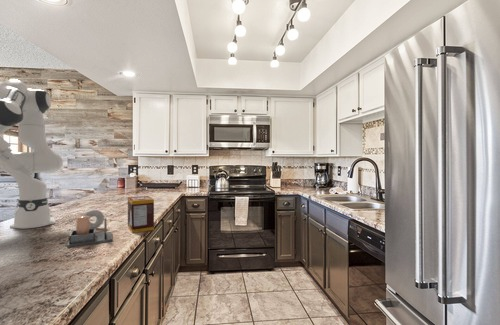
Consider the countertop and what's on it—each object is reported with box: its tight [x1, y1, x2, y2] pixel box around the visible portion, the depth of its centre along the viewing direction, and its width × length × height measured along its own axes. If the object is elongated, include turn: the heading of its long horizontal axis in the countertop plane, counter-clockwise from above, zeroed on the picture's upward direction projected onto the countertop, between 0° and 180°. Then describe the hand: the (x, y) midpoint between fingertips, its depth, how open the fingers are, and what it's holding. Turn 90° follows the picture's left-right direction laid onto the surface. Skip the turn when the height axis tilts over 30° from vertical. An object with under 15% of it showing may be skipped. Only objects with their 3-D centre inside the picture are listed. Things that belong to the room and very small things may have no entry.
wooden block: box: [75, 215, 90, 235], centre depth 113 cm, size 5×5×10 cm
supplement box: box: [127, 195, 155, 234], centre depth 135 cm, size 10×15×16 cm
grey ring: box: [82, 209, 105, 229], centre depth 132 cm, size 10×3×10 cm, turn 130°
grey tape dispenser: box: [67, 217, 113, 248], centre depth 115 cm, size 13×16×8 cm
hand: (29, 174), depth 106 cm, fingers open, 8 cm apart
